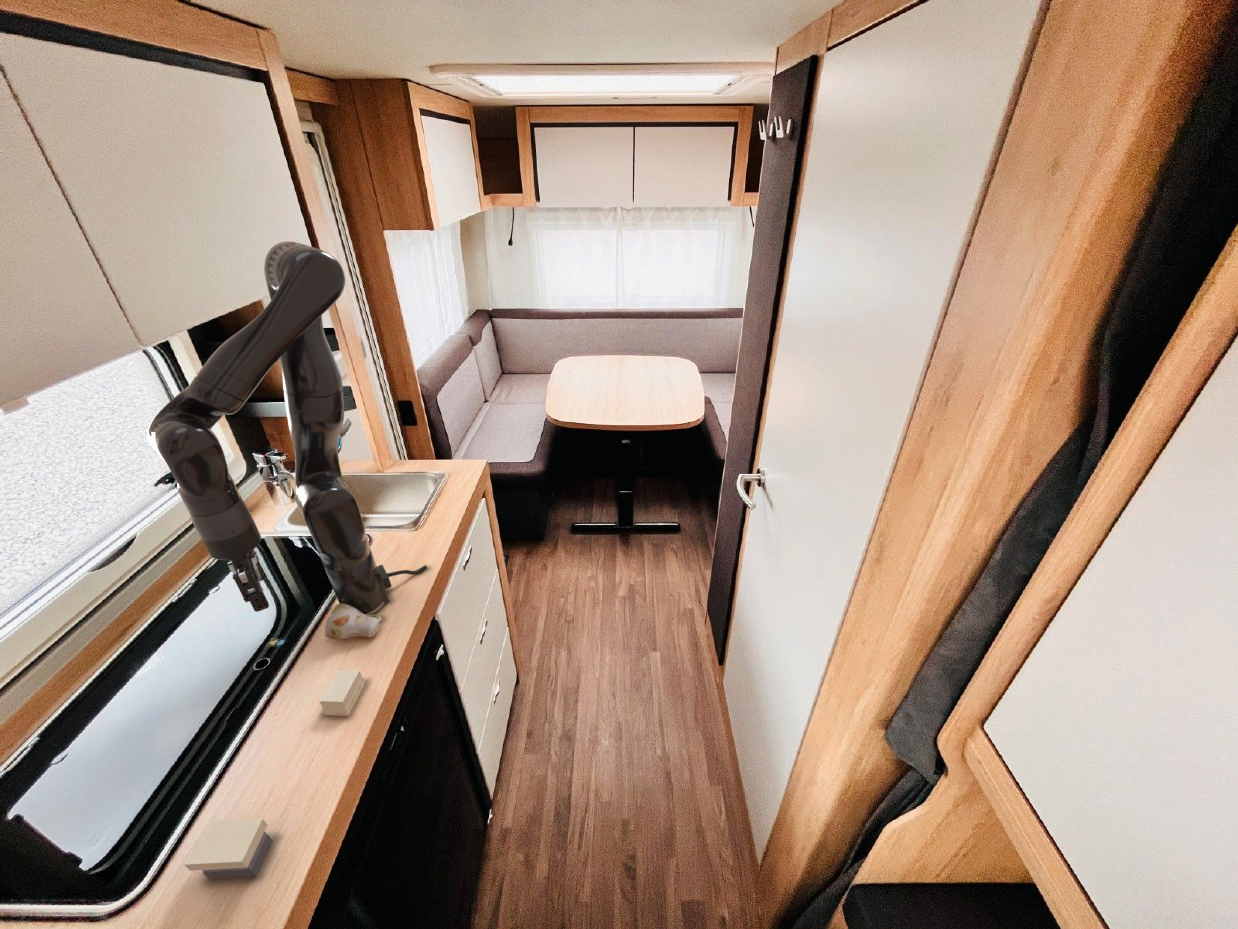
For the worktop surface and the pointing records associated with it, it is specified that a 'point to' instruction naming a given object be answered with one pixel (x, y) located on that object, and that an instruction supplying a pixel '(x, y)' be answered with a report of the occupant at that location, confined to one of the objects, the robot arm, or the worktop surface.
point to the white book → (226, 844)
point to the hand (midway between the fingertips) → (260, 594)
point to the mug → (350, 623)
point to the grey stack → (253, 865)
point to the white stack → (342, 692)
